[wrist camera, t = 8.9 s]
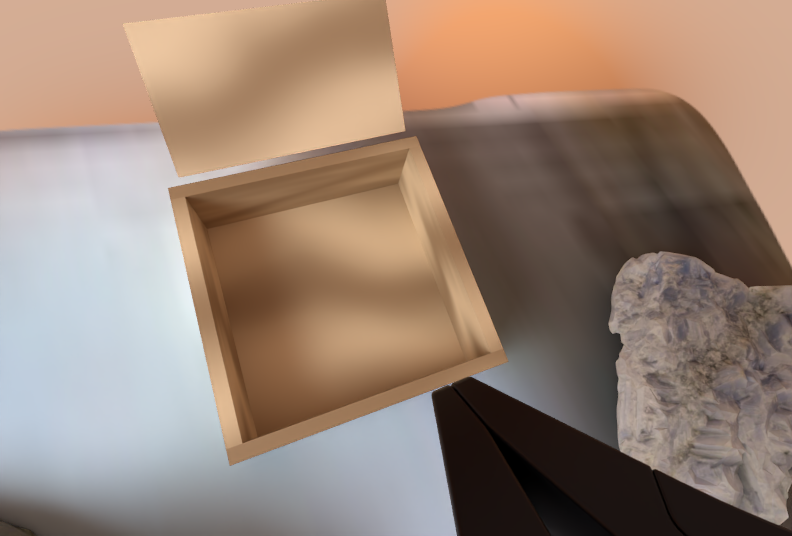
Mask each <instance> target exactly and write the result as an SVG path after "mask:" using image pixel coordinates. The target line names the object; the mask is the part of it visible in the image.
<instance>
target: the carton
mask: <svg viewBox="0 0 792 536" xmlns="http://www.w3.org/2000/svg"><path fill="white" fill-rule="evenodd" d="M168 190H169V194H170V199H171V203H172V208H173V212H174V217H175V221H176V226H177V230H178V235H179V239H180V244H181V248H182V253H183V257H184V262H185V266H186V271H187V275H188V280H189V284H190V289H191V293H192V298H193V302H194V307H195V311H196V316H197V320H198V325H199V329H200V334H201V338H202V343H203V347H204V352H205V356H206V361H207V365H208V370H209V374H210V379H211V383H212V388H213V392H214V397H215V401H216V406H217V410H218V415H219V419H220V424H221V428H222V433H223V437H224V442H225V446H226V451H227V455H228V460H229V464H230V466H231V465H233V464H236V463H239V462H241V461H244V460H247V459H249V458H252V457H255V456H257V455H260V454H263V453H265V452H268V451H271V450H273V449H276V448H279V447H281V446H284V445H287V444H289V443H292V442H295V441H297V440H300V439H303V438H305V437H308V436H311V435H314V434H316V433H319V432H322V431H324V430H327V429H330V428H332V427H335V426H338V425H340V424H343V423H346V422H348V421H351V420H354V419H356V418H359V417H362V416H364V415H367V414H370V413H372V412H375V411H378V410H380V409H383V408H386V407H388V406H391V405H394V404H396V403H399V402H402V401H404V400H407V399H410V398H412V397H415V396H418V395H420V394H423V393H426V392H428V391H431V390H434V389H436V388H439V387H442V386H445V385H447V384H450V383H453V382H455V381H458V380H460V379H463V378H465V377H469V376H471V375H474V374H477V373H479V372H482V371H485V370H487V369H490V368H493V367H495V366H498V365H501V364H503V363H506V362H508V359H507V357H506V354H505V352H504V349H503V347H502V345H501V342H500V340H499V337H498V335H497V332H496V330H495V327H494V325H493V322H492V320H491V318H490V315H489V313H488V310H487V308H486V305H485V303H484V300H483V298H482V296H481V293H480V291H479V288H478V286H477V283H476V281H475V278H474V276H473V274H472V271H471V269H470V266H469V264H468V261H467V259H466V256H465V254H464V252H463V249H462V247H461V244H460V242H459V239H458V237H457V234H456V232H455V229H454V227H453V225H452V222H451V220H450V217H449V215H448V212H447V210H446V207H445V205H444V203H443V200H442V198H441V195H440V193H439V190H438V188H437V185H436V183H435V181H434V178H433V176H432V173H431V171H430V168H429V166H428V163H427V161H426V159H425V156H424V154H423V151H422V149H421V146H420V144H419V141H418V139H417V137H416V136H414V137H409V138H404V139H400V140H395V141H390V142H385V143H381V144H376V145H371V146H366V147H362V148H357V149H352V150H347V151H343V152H338V153H333V154H328V155H324V156H319V157H314V158H309V159H304V160H300V161H295V162H290V163H285V164H281V165H276V166H271V167H266V168H262V169H257V170H252V171H247V172H243V173H238V174H233V175H228V176H224V177H219V178H214V179H209V180H204V181H200V182H195V183H190V184H185V185H181V186H176V187H171V188H168Z"/></svg>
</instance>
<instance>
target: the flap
mask: <svg viewBox="0 0 792 536" xmlns="http://www.w3.org/2000/svg"><path fill="white" fill-rule="evenodd" d="M123 26H124V29H125V32H126V35H127V37H128V40H129V42H130V46H131V48H132V51H133V54H134V57H135V59H136V62H137V64H138V67H139V70H140V73H141V75H142V78H143V81H144V84H145V86H146V89H147V92H148V95H149V97H150V100H151V103H152V106H153V108H154V111H155V114H156V117H157V119H158V122H159V125H160V128H161V130H162V133H163V136H164V139H165V141H166V144H167V147H168V149H169V152H170V155H171V158H172V160H173V163H174V166H175V169H176V171H177V174H178V177H184V176H189V175H194V174H199V173H204V172H208V171H213V170H218V169H223V168H228V167H233V166H238V165H243V164H247V163H252V162H257V161H262V160H267V159H272V158H277V157H281V156H286V155H291V154H296V153H301V152H306V151H311V150H316V149H320V148H325V147H330V146H335V145H340V144H345V143H350V142H354V141H359V140H364V139H369V138H374V137H379V136H384V135H389V134H393V133H398V132H403V131H405V124H404V118H403V111H402V105H401V98H400V92H399V85H398V79H397V72H396V65H395V59H394V52H393V46H392V39H391V33H390V26H389V19H388V13H387V6H386V0H320V1H312V2H302V3H294V4H285V5H277V6H269V7H260V8H251V9H243V10H234V11H226V12H217V13H209V14H200V15H192V16H183V17H175V18H166V19H158V20H149V21H140V22H132V23H123Z"/></svg>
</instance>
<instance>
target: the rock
mask: <svg viewBox="0 0 792 536" xmlns="http://www.w3.org/2000/svg"><path fill="white" fill-rule="evenodd" d="M611 307H612V309H611V316H610V320H609V323H608V324H609V329H610V331H611V332H612V334H613V333H619V334H620V336H621V342H622V343H623V344H624V346H623V348H622V350H621V353H619V359H618V360H617V361H616V371H617V375H618V378H619V380H618V386H617V389H618V403H617V424H618V443H619V448H620V451H621V452H623V453H625V454H627V455H629V456H631V457H633V458H635V459H637V460H639V461H641V462H643V463H645V464H647V465H649V466H650V467H651V469H652V471H653V469H657V470H659V471H661V472H663V473H665V474H667V475H669V476H671V477H673V478H675V479H677V480H679V481H681V482H683V483H685V484H687V485H689V486H692V487H694V488H696V489H698V490H700V491H702V492H704V493H706V494H708V495H711V496H713V497H715V498H717V499H719V500H721V501H723V502H726V503H728V504H730V505H733V506H735V507H737V508H740V509H742V510H744V511H747V512H749V513H751V514H754V515H756V516H758V517H761V518H763V519H765V520H767V521H770V522H772V523H775V524H777V525H780V524H781V523H783V522H784V521H785V520H786V519H787V518H788V513H787V508H786V502H787V498H788V490H789V488H790V486H791V483H792V479H791V477H792V285H783V286H754V287H750V288H748V287H747V286H746V285H745V284H744V283H743V282H741V281H740V280H739V279H738V278H737V279H733V278H730V277H727V276H725V275H722V274H719V273H716V272H715V271H714V269H713V268H711V267H710V266H708V265H707V264H705V263H704V262H703V261H701V260H699V259H698V258H696V257H692V256H687V255H682V254H677V253H671V252H662V251H660V252H659V253H658V254H656V253H649V254H647V253H646V254H644V255H641V256H640V257H639V258H638V259H635V258H634V257H632V258H631V259H629V260H628V261H627V262H626V263H625V264H624V265H623V267H622V268H621V270H620V272H619V273H618V275H617V276H616V283H615V285H614V286H613V292H612V296H611Z"/></svg>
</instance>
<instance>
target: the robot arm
mask: <svg viewBox="0 0 792 536" xmlns="http://www.w3.org/2000/svg"><path fill="white" fill-rule="evenodd" d="M432 401H433V406H434V412H435V417H436V423H437V428H438V434H439V439H440V445H441V450H442V456H443V461H444V466H445V472H446V477H447V483H448V488H449V494H450V499H451V505H452V510H453V516H454V521H455V527H456V532H457V536H792V530H789V529H787V528H784V527H782V526H780V525H777V524H775V523H772V522H770V521H767V520H765V519H763V518H761V517H758V516H756V515H754V514H751V513H749V512H747V511H744V510H742V509H740V508H737V507H735V506H733V505H730V504H728V503H726V502H723V501H721V500H719V499H717V498H715V497H713V496H711V495H708V494H706V493H704V492H702V491H700V490H698V489H696V488H694V487H692V486H689V485H687V484H685V483H683V482H681V481H679V480H677V479H675V478H673V477H671V476H669V475H667V474H665V473H663V472H661V471H659V470H657V469H653V471H652V469H651V467H650V466H649V465H647V464H645V463H643V462H641V461H639V460H637V459H635V458H633V457H631V456H629V455H627V454H625V453H623V452H621V451H619V450H617V449H615V448H613V447H611V446H609V445H607V444H605V443H603V442H601V441H599V440H597V439H595V438H593V437H591V436H589V435H587V434H585V433H583V432H581V431H579V430H577V429H575V428H573V427H571V426H569V425H567V424H565V423H563V422H561V421H559V420H557V419H555V418H553V417H551V416H549V415H547V414H545V413H543V412H541V411H539V410H537V409H535V408H533V407H531V406H529V405H527V404H525V403H523V402H521V401H519V400H517V399H515V398H512V397H511V396H508V395H506V394H504V393H502V392H500V391H498V390H496V389H494V388H492V387H490V386H488V385H486V384H484V383H482V382H480V381H478V380H476V379H474V378H472V377H465V378H463V379H460V380H458V381H456V382H454V383H452V385H451V386H449V385H447V386H445V387H442V388H440V389H438V390H436V391H433V392H432Z"/></svg>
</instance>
